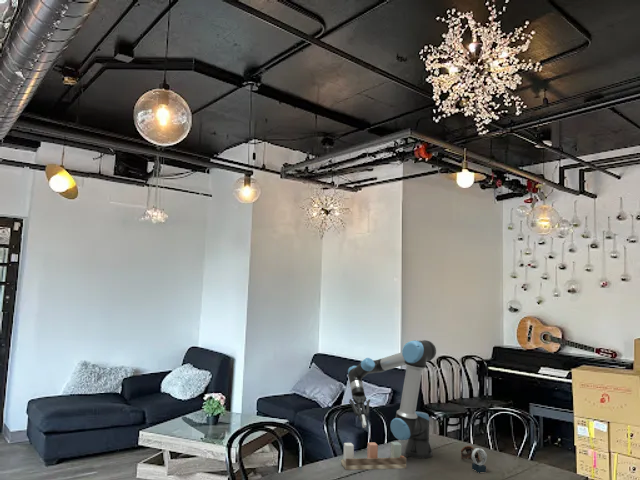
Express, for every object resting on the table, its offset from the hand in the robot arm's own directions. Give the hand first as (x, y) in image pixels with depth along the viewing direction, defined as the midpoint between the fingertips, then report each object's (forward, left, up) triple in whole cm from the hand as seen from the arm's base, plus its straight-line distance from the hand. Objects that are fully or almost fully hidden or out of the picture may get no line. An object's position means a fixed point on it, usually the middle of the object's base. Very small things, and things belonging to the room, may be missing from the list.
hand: (364, 426), depth 263 cm
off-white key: (+13, +15, -13) cm, 24 cm away
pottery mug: (-58, +11, -16) cm, 61 cm away
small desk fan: (-53, +29, -16) cm, 63 cm away
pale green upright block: (-13, +15, -13) cm, 24 cm away
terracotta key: (0, +15, -13) cm, 20 cm away
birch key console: (0, +17, -16) cm, 23 cm away
